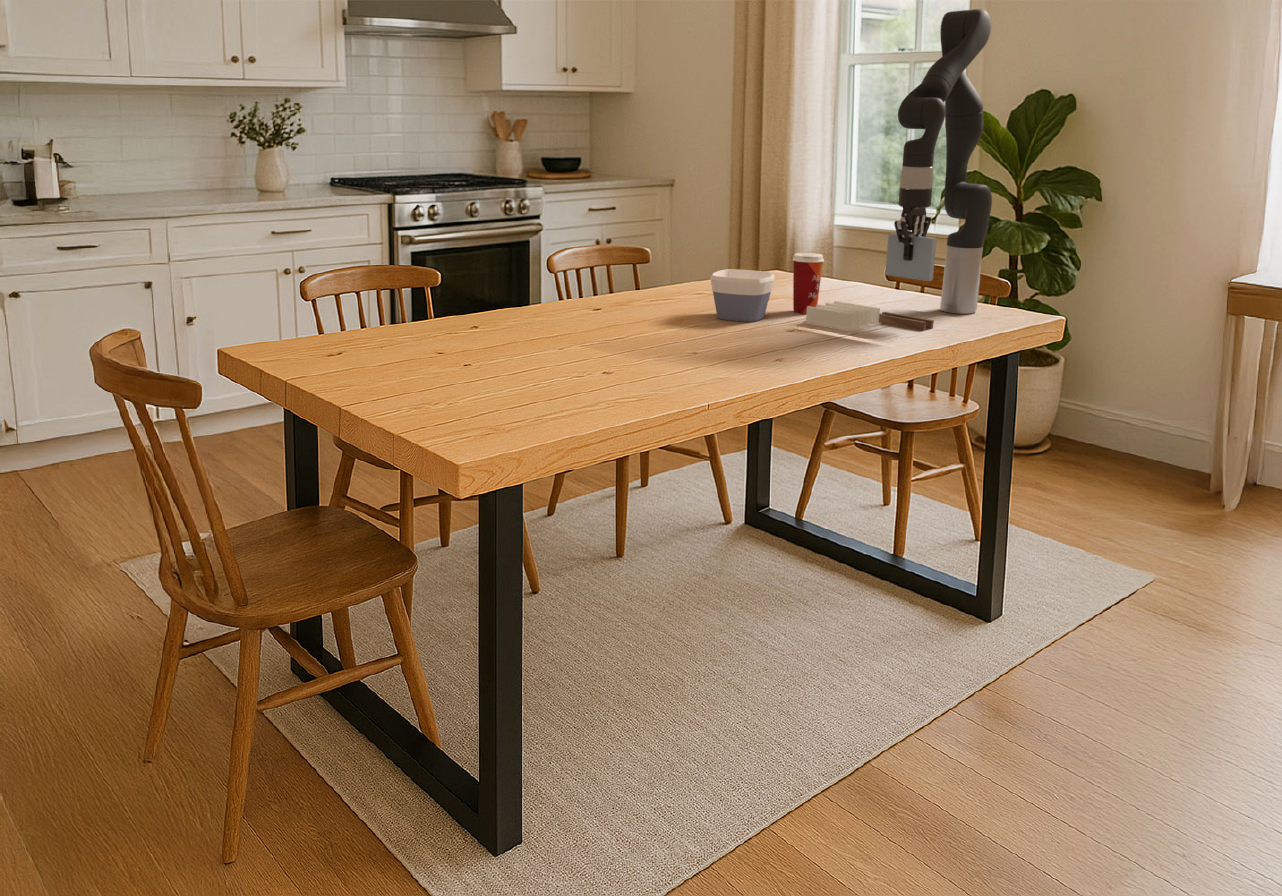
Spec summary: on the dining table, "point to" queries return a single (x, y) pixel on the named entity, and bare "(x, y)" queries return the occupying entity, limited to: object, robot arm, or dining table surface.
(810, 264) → the coffee cup
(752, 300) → the bowl
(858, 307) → the rack
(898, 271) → the grey-blue flat slab
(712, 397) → the dining table surface
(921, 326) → the stand
